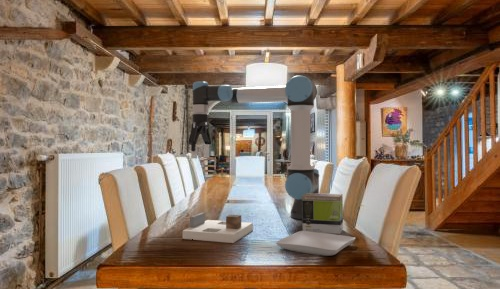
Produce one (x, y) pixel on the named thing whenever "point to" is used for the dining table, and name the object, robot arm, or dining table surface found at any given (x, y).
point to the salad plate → (315, 243)
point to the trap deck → (214, 230)
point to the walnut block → (233, 221)
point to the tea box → (322, 213)
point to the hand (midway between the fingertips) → (200, 158)
